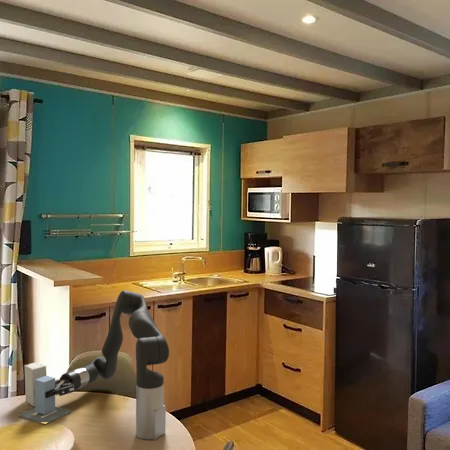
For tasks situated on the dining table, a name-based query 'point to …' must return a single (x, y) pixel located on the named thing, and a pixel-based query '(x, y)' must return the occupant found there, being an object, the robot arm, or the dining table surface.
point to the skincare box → (32, 380)
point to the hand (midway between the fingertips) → (40, 393)
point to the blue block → (41, 402)
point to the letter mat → (44, 418)
